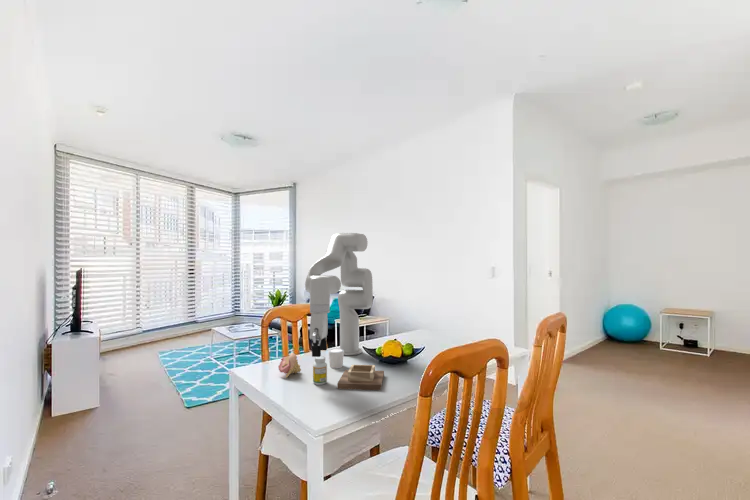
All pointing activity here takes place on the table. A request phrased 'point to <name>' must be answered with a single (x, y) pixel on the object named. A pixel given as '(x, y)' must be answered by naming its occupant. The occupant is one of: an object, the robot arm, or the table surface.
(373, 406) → the table surface
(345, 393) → the table surface
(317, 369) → the supplement bottle
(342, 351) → the white lidded jar
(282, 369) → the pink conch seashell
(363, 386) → the walnut base
